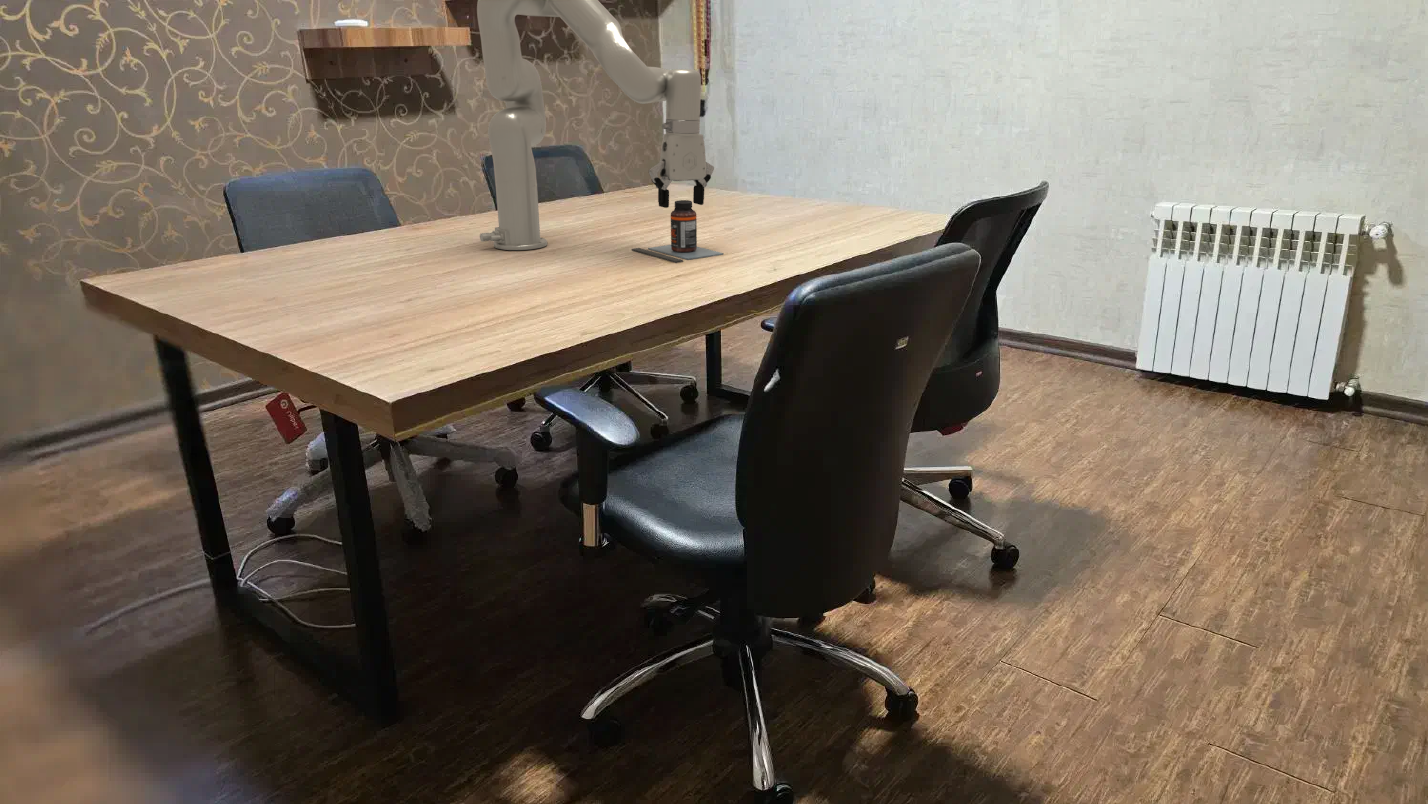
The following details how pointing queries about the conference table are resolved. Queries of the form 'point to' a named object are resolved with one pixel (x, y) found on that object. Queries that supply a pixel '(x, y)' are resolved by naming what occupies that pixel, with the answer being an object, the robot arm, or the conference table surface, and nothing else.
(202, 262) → the conference table surface
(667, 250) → the pad
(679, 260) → the bar
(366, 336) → the conference table surface
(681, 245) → the supplement bottle
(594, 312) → the conference table surface
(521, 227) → the robot arm
